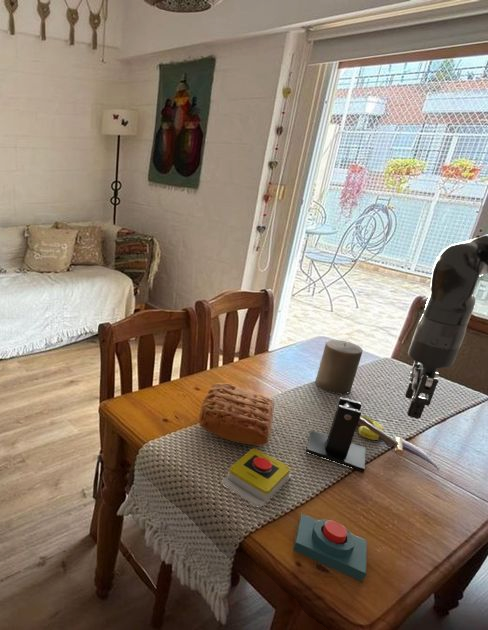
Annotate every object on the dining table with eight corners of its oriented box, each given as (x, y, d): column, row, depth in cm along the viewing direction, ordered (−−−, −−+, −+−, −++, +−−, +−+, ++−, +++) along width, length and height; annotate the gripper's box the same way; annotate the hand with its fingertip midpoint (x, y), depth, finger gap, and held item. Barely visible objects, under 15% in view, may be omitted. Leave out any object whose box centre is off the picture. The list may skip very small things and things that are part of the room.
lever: (397, 445, 101) (405, 439, 100) (397, 457, 97) (406, 451, 96) (339, 405, 105) (347, 399, 104) (338, 415, 101) (345, 409, 100)
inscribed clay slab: (263, 463, 102) (270, 435, 99) (190, 439, 110) (194, 412, 107) (274, 415, 120) (280, 390, 117) (211, 397, 128) (215, 373, 125)
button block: (363, 548, 82) (369, 533, 80) (362, 582, 76) (369, 566, 74) (299, 521, 87) (303, 506, 86) (293, 550, 81) (298, 535, 80)
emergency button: (296, 461, 97) (264, 493, 88) (292, 476, 99) (260, 510, 90) (257, 439, 104) (222, 468, 94) (253, 454, 105) (219, 484, 96)
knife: (449, 466, 103) (343, 411, 123) (453, 457, 102) (345, 403, 122) (433, 478, 99) (326, 419, 119) (437, 469, 98) (329, 411, 118)
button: (345, 533, 81) (347, 526, 80) (344, 547, 78) (346, 540, 77) (323, 524, 82) (325, 517, 82) (321, 537, 80) (323, 530, 79)
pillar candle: (350, 398, 129) (364, 352, 124) (313, 388, 134) (325, 344, 128) (350, 383, 137) (364, 340, 131) (315, 374, 142) (327, 332, 136)
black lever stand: (364, 451, 107) (381, 404, 102) (363, 473, 100) (381, 423, 95) (309, 433, 113) (323, 388, 108) (305, 453, 106) (319, 405, 101)
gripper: (466, 358, 81) (437, 430, 87) (455, 332, 92) (430, 397, 98) (416, 347, 85) (391, 417, 91) (412, 323, 96) (390, 387, 102)
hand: (411, 407), depth 95 cm, fingers open, 8 cm apart
